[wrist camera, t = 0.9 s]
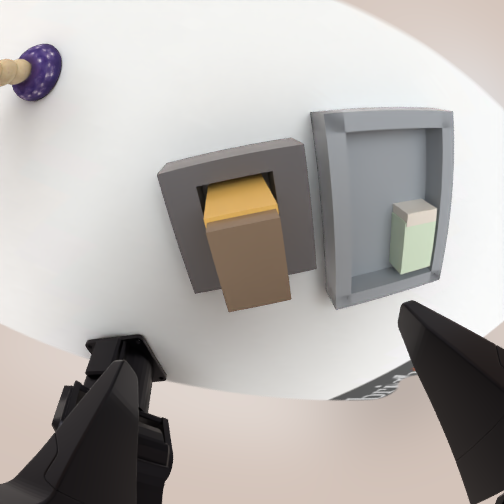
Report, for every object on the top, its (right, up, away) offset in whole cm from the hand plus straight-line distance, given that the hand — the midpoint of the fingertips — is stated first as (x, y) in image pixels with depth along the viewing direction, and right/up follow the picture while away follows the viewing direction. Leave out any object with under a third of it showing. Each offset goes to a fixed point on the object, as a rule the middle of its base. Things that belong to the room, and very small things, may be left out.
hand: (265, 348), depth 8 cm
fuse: (+12, +4, +13) cm, 18 cm away
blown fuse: (-1, +6, +10) cm, 12 cm away
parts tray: (+9, +7, +12) cm, 16 cm away
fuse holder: (-1, +6, +11) cm, 12 cm away
